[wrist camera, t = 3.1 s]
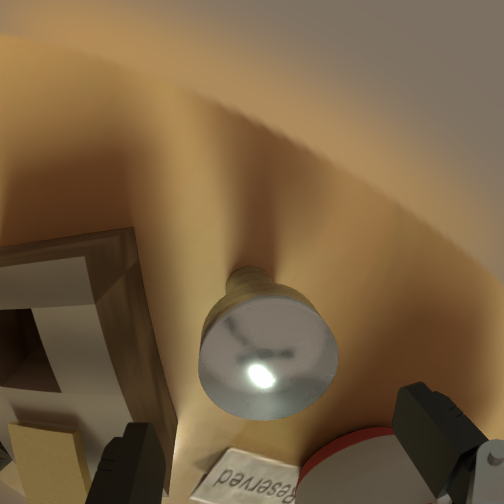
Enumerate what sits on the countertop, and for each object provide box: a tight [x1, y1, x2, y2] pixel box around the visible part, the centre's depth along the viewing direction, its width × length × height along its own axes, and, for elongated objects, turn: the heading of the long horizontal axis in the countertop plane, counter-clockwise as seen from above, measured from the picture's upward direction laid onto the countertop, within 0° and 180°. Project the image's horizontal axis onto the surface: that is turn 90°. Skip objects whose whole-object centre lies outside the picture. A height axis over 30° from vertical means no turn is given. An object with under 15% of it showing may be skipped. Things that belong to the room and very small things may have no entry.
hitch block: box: [0, 227, 178, 497], centre depth 17 cm, size 16×12×8 cm
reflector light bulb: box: [198, 267, 338, 420], centre depth 17 cm, size 6×6×10 cm
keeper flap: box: [7, 421, 92, 504], centre depth 12 cm, size 6×5×1 cm
